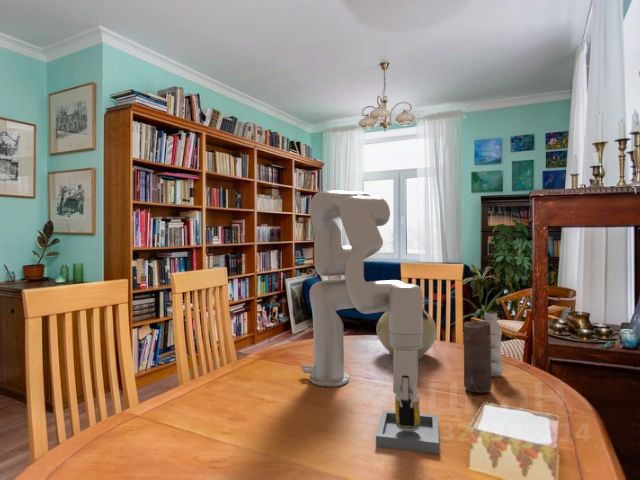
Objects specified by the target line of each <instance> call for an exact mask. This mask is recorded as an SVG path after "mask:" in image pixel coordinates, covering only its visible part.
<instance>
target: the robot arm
mask: <svg viewBox="0 0 640 480" xmlns="http://www.w3.org/2000/svg"><path fill="white" fill-rule="evenodd" d="M309 214H310V220H311V223H312V224H311V225H312V227H313V232H314V234H313V235H314V237H313V238H314V239H313V241H314V244H313V245H314V247H313V251H314V254H313V255H314V256H313V259H314V269H315V272H316V274H317V275H318V276H320V277H321V276H322V277H340V276H341V277H342V276H344V278H343V279H331V280H330V279H327V280H320V281H317V282H315V283H314V284H312V285H311V287H310V289H309V301H310V306H311V311H312V325H313V326H312V331H313V361H314V364H311V365H309V364H302V365H301V366H302V367H301V371H302V372H303V373H305V374H310V375H309V382H310V381H311V382H312V383H311V382H310V383H311V384H313V383H314V384H313V385H315V384H316V385H315V386H318V385H319V387H324V386H326V388H327V387H329V388H333V387H334V388H335V387H339V386H340V387H341V386H343V385H345V384H348V383H349V381H350V374H349V373H347V372H345V350H344V348H345V347H344V346H345V344H344V337H345V335H344V323H343V321H342V318H341V317H340V316H339V314H338V313H337V311H340V310H346V309H356V310H357V311H358V312H359V313H361V314H364V315H365V314H369V315H370V314H376V313H378V314H379V313H385V312H388V311H389V345H390V346H391V347H393V348H394V357H392V359H393V361H392V363H393V365H392V367H393V368H392V369H393V370H392V371H393V375H392V376H393V379H392V380H393V381H392V382H393V383H392V385H393V386H392V387H393V389H392V391H393V394H394V395H396V393H399V390H400V406H399V424H400V425H406V426H414V407H413V395H414V394H415V393H417V388H418V387H417V384H418V376H419V375H418V374H419V359H418V349H420V348H422V347H423V309H424V303H423V300H424V298H423V299H422V297H423V290H422V287H421V286H419V284H418V285H417V284H414V283H405V282H404V281H401V280H398V279H389V280H373V281H372V280H370V281H367V280H365V277H364V273H365V272H364V271H365V270H364V269H365V268H364V267H365V265H364V260H366V259H368V258H371V256H373V255H375V254H377V252H379V251H380V250H381V249H382V247H383V245H384V240H383V238H382V237H383V236H382V235H381V232H380V230H379V228H378V227H382V226H385V225H386V224H388V222H389V220H390V217H391V209H390V206H389V204H388V202H387V201H386V200H385V199H384V198H383V197H381V196H378V195H374V194H371V193H367V192H363V191H351V190H350V191H349V190H322V191H318V192H316V193H315V194H314V195H313V196H312V198H311V201H310V205H309ZM337 219H338V220H340V221H341V223H342V226H343V229H344V232H345V234H346V237H347V239H348V240H347V241H348V243H349V245H343V244H342V231H341V229H340V227H339V224H338V223H337V222H336V221H335V220H337ZM409 390H411V393H408V391H409ZM408 396H410V399H409V397H408Z"/></svg>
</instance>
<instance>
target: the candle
mask: <svg viewBox="0 0 640 480" xmlns="http://www.w3.org/2000/svg"><path fill="white" fill-rule="evenodd" d="M463 387H464V389H466V390H467V391H468V392H470V393H475V394H476V393H480V394H484V393H489V392H491V391H492V376H491V346H490V323H489V322H486V321H485V320H477V321H476V320H473V321H465V322H464V323H463Z"/></svg>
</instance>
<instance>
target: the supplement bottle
mask: <svg viewBox="0 0 640 480" xmlns="http://www.w3.org/2000/svg"><path fill="white" fill-rule="evenodd" d="M408 393H411V390H409V391H408ZM394 395H395V396H394V399H395V400H394V402H395V407H394V408H395V411H396V426H397V427H398V428H399V429H400V430H403V431H408V432H410V431H416V430H418V429H419V428H420V414H421V412H420V408H421V407H420V395H419V394H418V393H417V392H416V393H415V394H414V395H413V407H414V426H406V425H400V424H399V406H400V390H399V393H396V394H394ZM408 397H409V399H410V396H408Z"/></svg>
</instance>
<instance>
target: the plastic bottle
mask: <svg viewBox="0 0 640 480" xmlns="http://www.w3.org/2000/svg"><path fill="white" fill-rule="evenodd" d="M484 319H485V320H484V321H486V322H489V323H490V346H491V377H500V376H501V375H503V371H504V367H503V361H502V353H501V342H502V335H503V328H502V327H501V325H500V324H499V322H498V321H497V320H498V313H497V312H494V311H485V312H484Z"/></svg>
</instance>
